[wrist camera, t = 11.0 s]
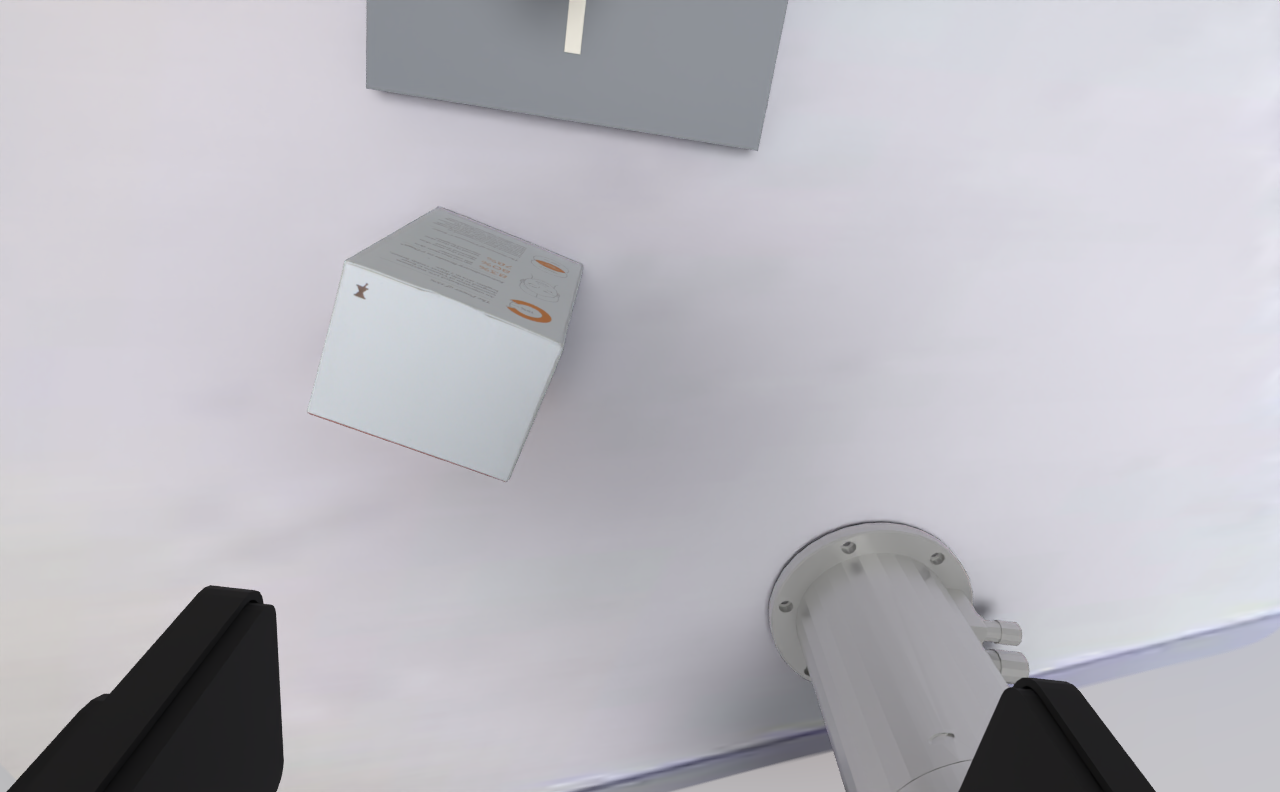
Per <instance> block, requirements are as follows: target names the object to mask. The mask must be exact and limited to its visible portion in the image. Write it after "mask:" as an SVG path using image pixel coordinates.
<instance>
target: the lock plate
mask: <svg viewBox="0 0 1280 792" xmlns="http://www.w3.org/2000/svg"><path fill="white" fill-rule="evenodd" d="M787 4H788V0H367V38H366V88H367V89H373V90H380V91H386V92H392V93H398V94H405V95H411V96H417V97H423V98H430V99H436V100H442V101H449V102H455V103H461V104H467V105H474V106H480V107H486V108H492V109H499V110H505V111H511V112H518V113H524V114H530V115H536V116H543V117H549V118H555V119H561V120H568V121H574V122H580V123H587V124H593V125H599V126H605V127H612V128H618V129H624V130H630V131H637V132H643V133H649V134H656V135H662V136H668V137H674V138H681V139H687V140H693V141H699V142H706V143H712V144H718V145H725V146H731V147H737V148H743V149H750V150H756V151H758V148H759V143H760V138H761V133H762V128H763V123H764V118H765V113H766V108H767V103H768V98H769V93H770V88H771V83H772V78H773V73H774V68H775V63H776V58H777V53H778V48H779V43H780V39H781V34H782V29H783V24H784V19H785V14H786V9H787Z"/></svg>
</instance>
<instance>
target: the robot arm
mask: <svg viewBox="0 0 1280 792" xmlns="http://www.w3.org/2000/svg"><path fill="white" fill-rule="evenodd" d="M769 622H770V629H771V633H772V636H773V639H774V643H775V646H776V648H777V650H778V651H779V653H780V655H781V657H782V659H783V660H784V661H785V662H786V663H787V664H788V665H789V667H790V668H791V669H792V670H793V671H795V672H796V673H797V674H798V675H800V676H801V677H802V678H804V679H806V680H808V681H810V682H812V684H813V687H814V690H815V693H816V697H817V700H818V703H819V706H820V709H821V713H822V716H823V719H824V722H825V726H826V729H827V732H828V735H829V739H830V742H831V745H832V748H833V751H834V755H835V758H836V761H837V764H838V767H839V771H840V774H841V777H842V780H843V784H844V787H845V790H846V792H1156V791H1155V790H1154V789H1153V787H1152V786H1151V785H1150V783H1149V782H1148V781H1147V779H1146V778H1145V777H1144V776H1143V774H1142V773H1141V772H1140V770H1139V769H1138V768H1137V766H1136V765H1135V764H1134V762H1133V761H1132V760H1131V758H1130V757H1129V756H1128V754H1127V753H1126V752H1125V751H1124V749H1123V748H1122V746H1121V745H1120V744H1119V743H1118V741H1117V740H1116V739H1115V737H1114V736H1113V735H1112V733H1111V732H1110V731H1109V729H1108V728H1107V727H1106V725H1105V724H1104V723H1103V721H1102V720H1101V719H1100V718H1099V716H1098V715H1097V713H1096V712H1095V711H1094V710H1093V708H1092V707H1091V706H1090V704H1089V703H1088V702H1087V700H1086V699H1085V698H1084V696H1083V695H1082V694H1081V692H1080V691H1079V690H1078V689H1077V688H1076V687H1075V686H1074V685H1072V684H1070V683H1068V682H1064V681H1055V680H1046V679H1037V678H1028V677H1029V665H1028V661H1027V659H1026V657H1025V656H1024V655H1023V654H1022V653H1021V652H1013V651H1004V650H995V649H990V650H985V648H984V647H983V645H982V644H983V642H984V641H988V642H994V643H995V644H1004V645H1013V646H1017V645H1019V644H1020V642H1021V639H1022V630H1021V628H1020V626H1019V625H1018V624H1017V623H1016V622H1008V621H1000V620H994V621H990V620H984V619H983V617H982V616H981V615H978V613H977V612H976V610H975V609H974V607H973V592H972V588H971V584H970V580H969V577H968V575H967V573H966V571H965V570H964V568H963V566H962V564H961V563H960V561H959V560H958V559H957V557H956V556H955V555H954V554H953V552H952V551H951V550H950V549H949V548H948V547H947V546H946V545H945V544H943V543H942V542H941V541H940V540H939V539H937V538H936V537H934V536H932V535H930V534H928V533H926V532H924V531H923V530H919V529H916V528H913V527H910V526H907V525H901V524H893V523H865V524H860V525H855V526H850V527H846V528H843V529H840V530H838V531H835V532H832V533H830V534H827V535H825V536H824V537H822V538H820V539H818V540H816V541H815V542H813V543H811V544H810V545H808V546H807V547H806V548H805V549H803V550H802V551H801V552H800V553H798V554H797V555H796V556H795V557H794V558H793V559H792V560H791V562H790V563H789V564H788V565H787V566H786V567H785V569H784V570H783V571H782V573H781V575H780V577H779V578H778V580H777V582H776V583H775V586H774V589H773V592H772V595H771V598H770V604H769ZM1007 683H1008V684H1014V686H1013V687H1009V686H1008V684H1007ZM283 763H284V757H283V738H282V719H281V700H280V681H279V662H278V642H277V623H276V611H275V608H274V606H273V605H269V604H263V598H262V595H261V594H260V592H258V591H255V590H247V589H238V588H229V587H220V586H211V585H210V586H207V587H205V588H204V589H202V590H201V591H200V592H199V593H198V594H197V595H196V596H195V598H194V599H193V600H192V601H191V602H190V603H189V604H188V605H187V607H186V608H185V609H184V610H183V611H182V612H181V613H180V615H179V616H178V617H177V618H176V619H175V620H174V621H173V623H172V624H171V625H170V626H169V627H168V628H167V629H166V631H165V632H164V633H163V634H162V635H161V636H160V637H159V639H158V640H157V641H156V642H155V643H154V644H153V645H152V646H151V648H150V649H149V650H148V651H147V652H146V653H145V654H144V656H143V657H142V658H141V659H140V660H139V661H138V662H137V664H136V665H135V666H134V667H133V668H132V669H131V670H130V672H129V673H128V674H127V675H126V676H125V677H124V678H123V680H122V681H121V682H120V683H119V684H118V685H117V686H116V687H115V689H114V690H113V691H112V692H111V693H110V694H103V695H101V696H99V697H97V698H95V699H93V700H91V701H90V702H89V703H88V704H87V705H86V706H85V707H84V708H82V709H81V710H80V711H79V712H78V713H77V714H76V715H75V717H74V718H73V719H72V720H71V721H70V722H69V723H68V724H67V725H66V727H65V728H64V729H63V730H62V731H61V732H60V733H59V734H58V735H57V737H56V738H55V739H54V740H53V741H52V742H51V743H50V744H49V745H48V746H47V748H46V749H45V750H44V751H43V752H42V753H41V754H40V755H39V756H38V758H37V759H36V760H35V761H34V762H33V763H32V764H31V765H30V766H29V768H28V769H27V770H26V771H25V772H24V773H23V774H22V775H21V776H20V777H19V779H18V780H17V781H16V782H15V783H14V784H13V785H12V786H11V787H10V789H9V790H8V791H7V792H276V791H277V789H278V786H279V783H280V780H281V776H282V771H283Z"/></svg>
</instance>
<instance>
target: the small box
mask: <svg viewBox="0 0 1280 792" xmlns="http://www.w3.org/2000/svg"><path fill="white" fill-rule="evenodd" d="M582 271H583V265H582V264H580V263H578V262H575V261H573V260H570V259H568V258H566V257H563V256H561V255H558V254H556V253H553V252H551V251H549V250H546V249H544V248H541V247H539V246H537V245H534V244H532V243H529V242H527V241H524V240H522V239H519V238H517V237H514V236H512V235H509V234H507V233H504V232H502V231H499V230H497V229H494V228H492V227H490V226H487V225H485V224H482V223H480V222H477V221H475V220H472V219H470V218H467V217H465V216H462V215H459V214H457V213H454V212H452V211H449V210H447V209H444V208H441V207H437V208H435V209H434V210H432V211H430V212H428V213H427V214H425V215H423V216H421V217H420V218H418V219H416V220H414V221H413V222H411V223H409V224H407V225H406V226H404V227H402V228H401V229H399V230H397V231H396V232H394V233H392V234H390V235H389V236H387V237H385V238H383V239H382V240H380V241H378V242H377V243H375V244H373V245H371V246H370V247H368V248H366V249H364V250H363V251H361V252H359V253H357V254H356V255H354V256H352V257H350V258H349V259H347V260H345V261H344V266H343V270H342V275H341V279H340V283H339V287H338V292H337V296H336V300H335V304H334V308H333V312H332V317H331V321H330V325H329V329H328V332H327V336H326V340H325V344H324V348H323V352H322V356H321V360H320V364H319V368H318V371H317V375H316V379H315V383H314V386H313V391H312V395H311V399H310V402H309V406H308V409H307V412H308V413H309V414H311V415H314V416H317V417H320V418H323V419H326V420H329V421H332V422H334V423H337V424H340V425H343V426H346V427H349V428H352V429H355V430H358V431H360V432H363V433H366V434H369V435H372V436H375V437H378V438H381V439H383V440H386V441H389V442H392V443H395V444H398V445H401V446H404V447H407V448H409V449H412V450H415V451H418V452H421V453H424V454H427V455H429V456H432V457H435V458H438V459H441V460H444V461H447V462H450V463H453V464H456V465H459V466H462V467H465V468H467V469H470V470H473V471H476V472H479V473H481V474H484V475H487V476H490V477H493V478H496V479H499V480H502V481H504V482H507V481H508V480H509V479H510V477H511V475H512V472H513V470H514V468H515V465H516V463H517V460H518V458H519V456H520V453H521V451H522V448H523V446H524V444H525V441H526V439H527V436H528V434H529V432H530V429H531V427H532V424H533V422H534V420H535V417H536V415H537V412H538V410H539V407H540V405H541V403H542V400H543V398H544V395H545V393H546V391H547V388H548V386H549V383H550V381H551V379H552V376H553V374H554V371H555V369H556V367H557V364H558V362H559V359H560V357H561V354H562V352H563V349H564V343H565V339H566V334H567V330H568V326H569V322H570V319H571V315H572V311H573V307H574V303H575V299H576V296H577V292H578V288H579V284H580V280H581V276H582Z"/></svg>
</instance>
